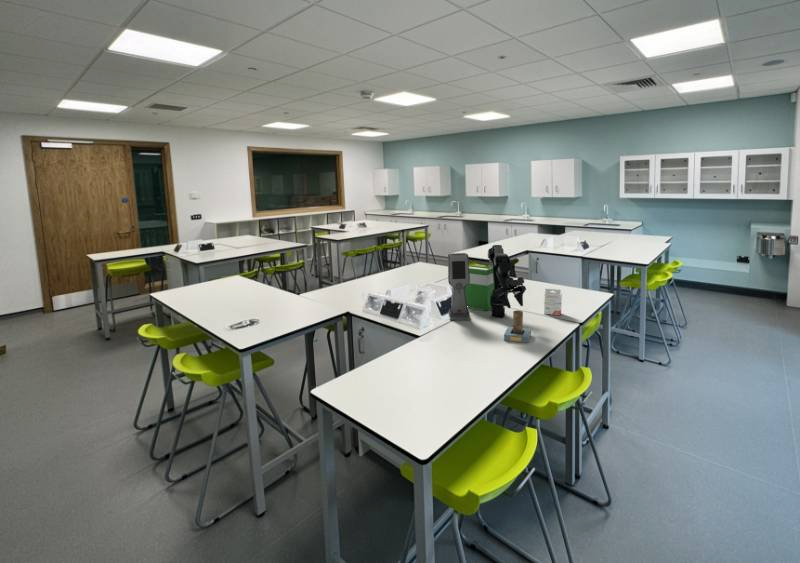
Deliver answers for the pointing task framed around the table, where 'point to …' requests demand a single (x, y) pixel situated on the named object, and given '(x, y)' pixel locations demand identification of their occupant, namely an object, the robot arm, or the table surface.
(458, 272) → the thermal camera
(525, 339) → the socket block
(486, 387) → the table surface
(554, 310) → the ink cartridge box
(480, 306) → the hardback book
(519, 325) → the walnut peg
